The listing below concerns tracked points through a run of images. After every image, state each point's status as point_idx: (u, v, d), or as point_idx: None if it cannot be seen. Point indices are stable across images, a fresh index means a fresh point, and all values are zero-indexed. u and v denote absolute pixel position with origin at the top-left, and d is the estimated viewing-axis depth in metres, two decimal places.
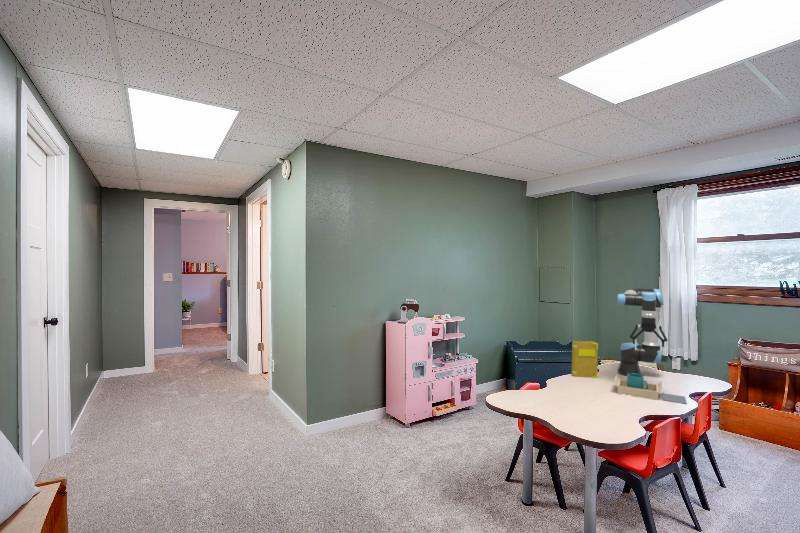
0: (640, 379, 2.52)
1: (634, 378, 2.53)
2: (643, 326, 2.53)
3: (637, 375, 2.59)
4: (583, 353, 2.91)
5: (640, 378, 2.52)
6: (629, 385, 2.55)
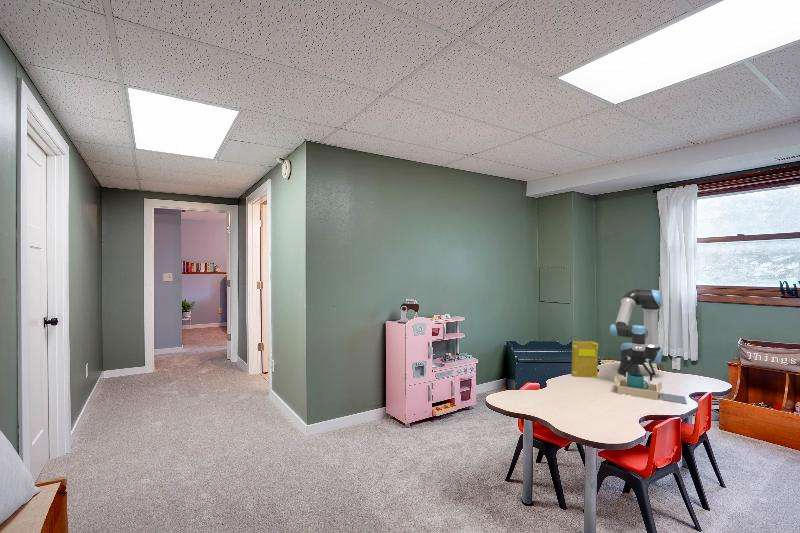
0: (640, 379, 2.52)
1: (634, 378, 2.53)
2: (633, 359, 2.56)
3: (637, 375, 2.59)
4: (583, 353, 2.91)
5: (640, 378, 2.52)
6: (629, 385, 2.55)
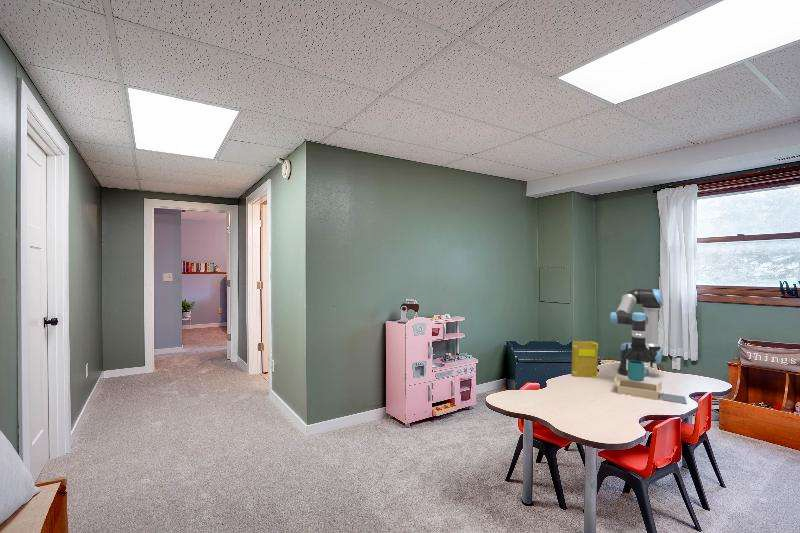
0: (641, 366, 2.52)
1: (635, 365, 2.53)
2: (633, 346, 2.56)
3: (638, 362, 2.59)
4: (583, 353, 2.91)
5: (641, 365, 2.52)
6: (630, 372, 2.55)
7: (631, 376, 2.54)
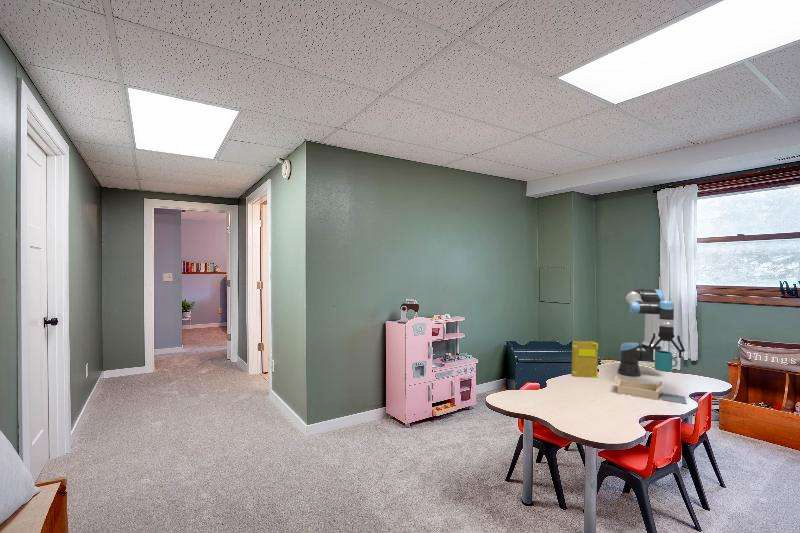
0: (669, 356, 2.44)
1: (662, 355, 2.45)
2: (661, 335, 2.48)
3: (665, 352, 2.51)
4: (583, 353, 2.91)
5: (669, 355, 2.44)
6: (657, 362, 2.47)
7: (659, 367, 2.46)
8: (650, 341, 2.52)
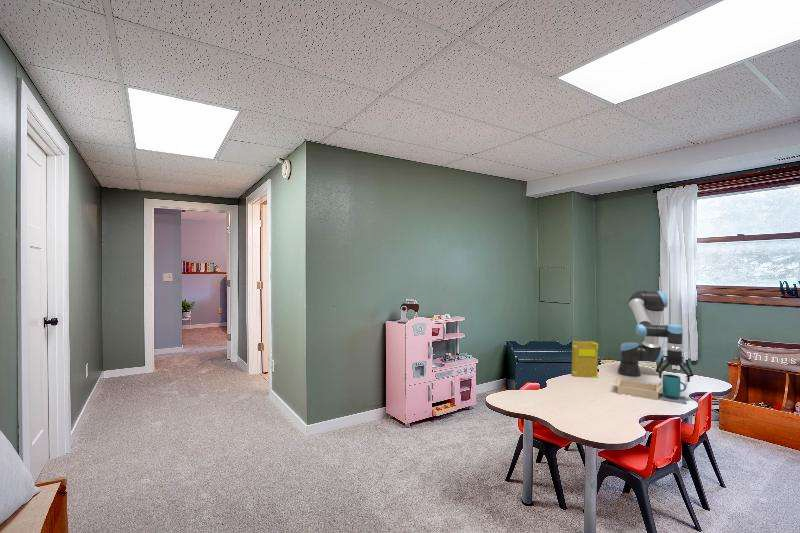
0: (677, 380, 2.42)
1: (671, 379, 2.42)
2: (669, 359, 2.46)
3: (673, 376, 2.49)
4: (583, 353, 2.91)
5: (677, 379, 2.42)
6: (665, 387, 2.45)
7: (667, 391, 2.44)
8: (658, 365, 2.50)
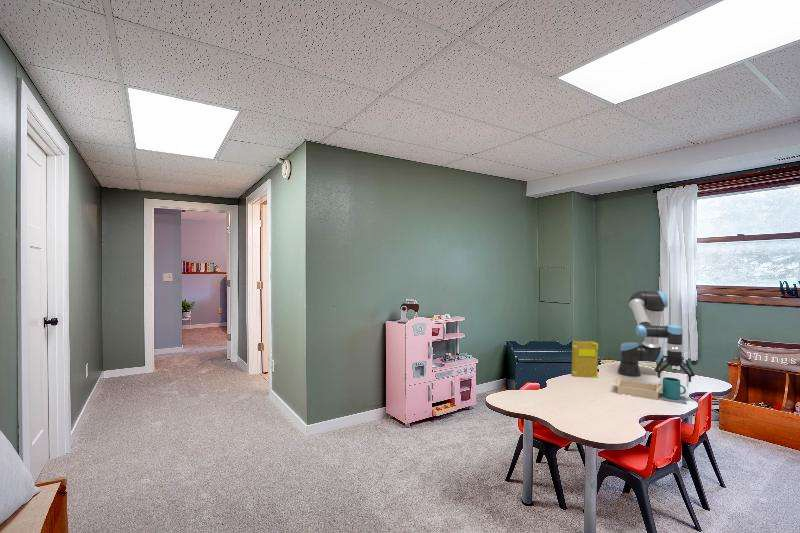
0: (677, 383, 2.42)
1: (670, 382, 2.42)
2: (669, 360, 2.46)
3: (673, 379, 2.49)
4: (583, 353, 2.91)
5: (677, 382, 2.42)
6: (665, 390, 2.45)
7: (667, 394, 2.44)
8: (657, 365, 2.50)
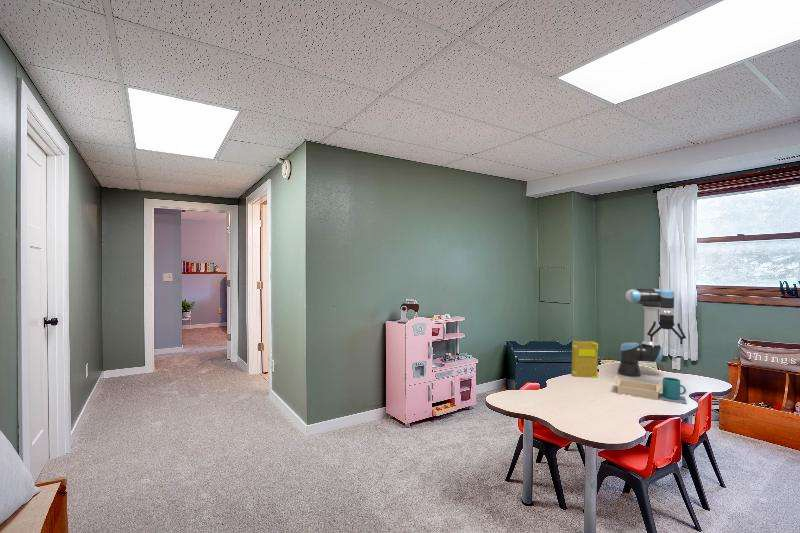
0: (677, 383, 2.42)
1: (670, 382, 2.43)
2: (661, 323, 2.52)
3: (673, 379, 2.49)
4: (583, 353, 2.91)
5: (677, 382, 2.42)
6: (665, 390, 2.45)
7: (667, 394, 2.44)
8: (650, 329, 2.56)
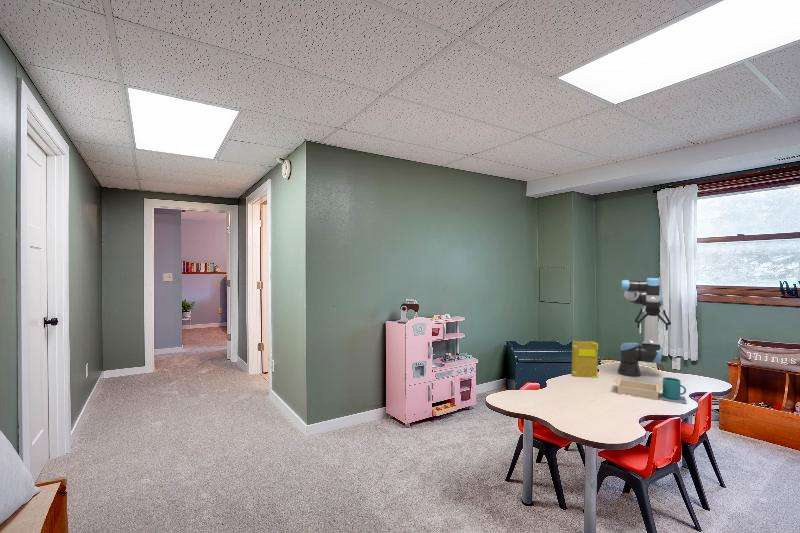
0: (677, 383, 2.42)
1: (671, 382, 2.42)
2: (647, 310, 2.62)
3: (673, 379, 2.49)
4: (583, 353, 2.91)
5: (677, 382, 2.42)
6: (665, 390, 2.45)
7: (667, 394, 2.44)
8: (637, 316, 2.66)
